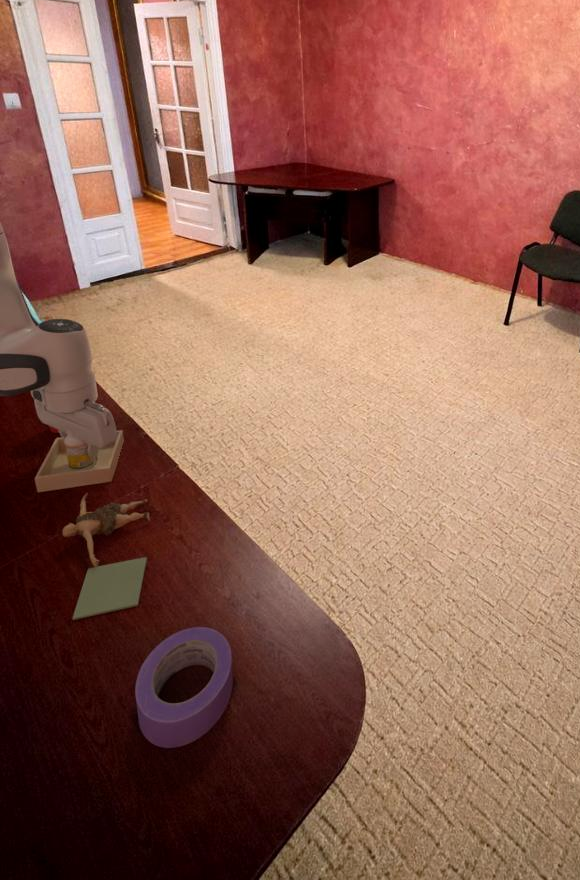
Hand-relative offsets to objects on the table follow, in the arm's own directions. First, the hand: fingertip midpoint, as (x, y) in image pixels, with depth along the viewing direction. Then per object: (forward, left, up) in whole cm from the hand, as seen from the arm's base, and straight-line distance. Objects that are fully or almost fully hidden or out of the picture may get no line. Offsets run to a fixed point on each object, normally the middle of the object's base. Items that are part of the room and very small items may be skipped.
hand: (81, 449), depth 104 cm
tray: (0, 0, -4) cm, 4 cm away
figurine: (+9, -20, -4) cm, 22 cm away
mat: (+12, -33, -4) cm, 35 cm away
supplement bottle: (0, 0, -4) cm, 4 cm away
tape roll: (+25, -53, -4) cm, 59 cm away
